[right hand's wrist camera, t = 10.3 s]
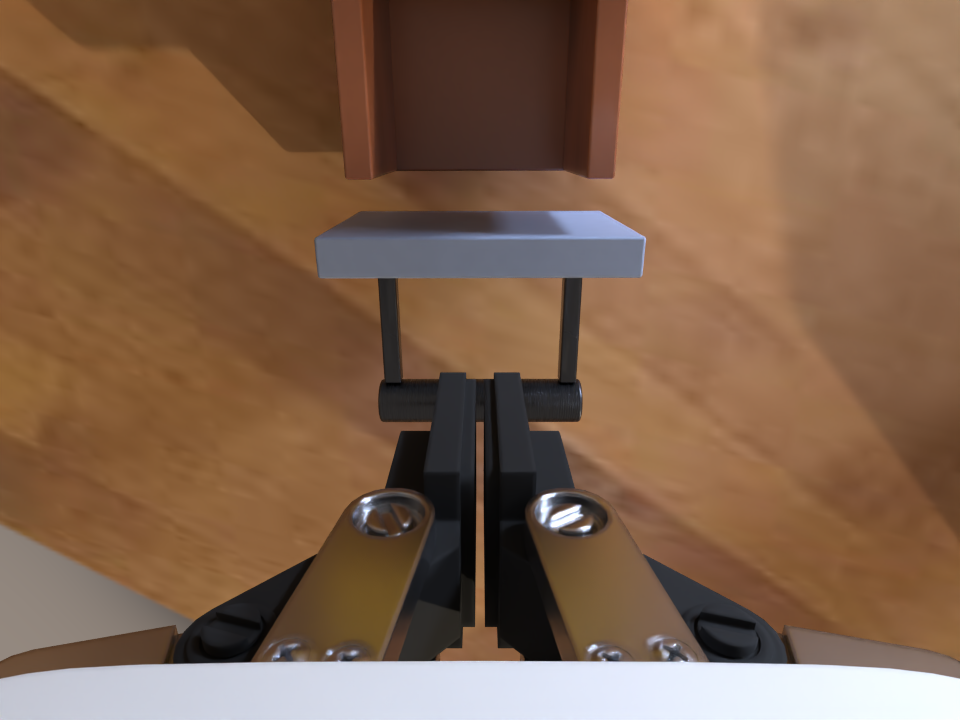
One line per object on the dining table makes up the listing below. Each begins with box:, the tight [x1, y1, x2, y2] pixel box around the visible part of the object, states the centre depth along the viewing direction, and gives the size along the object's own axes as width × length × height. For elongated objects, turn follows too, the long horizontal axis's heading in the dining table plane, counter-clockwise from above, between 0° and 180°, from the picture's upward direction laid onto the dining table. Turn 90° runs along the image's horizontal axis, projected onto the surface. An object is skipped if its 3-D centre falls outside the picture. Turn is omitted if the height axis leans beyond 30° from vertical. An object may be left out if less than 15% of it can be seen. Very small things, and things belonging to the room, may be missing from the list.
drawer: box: [314, 0, 646, 422], centre depth 18 cm, size 24×10×7 cm, turn 0°
